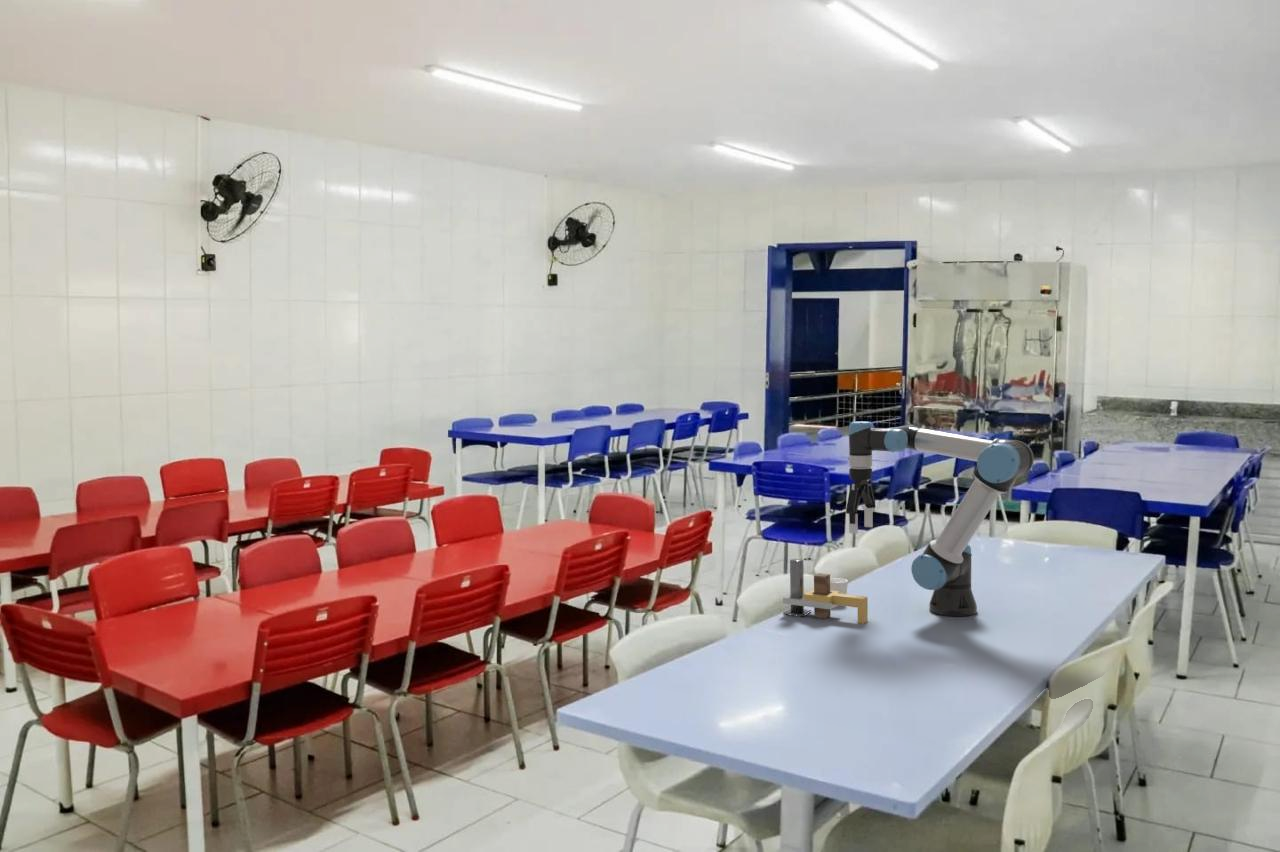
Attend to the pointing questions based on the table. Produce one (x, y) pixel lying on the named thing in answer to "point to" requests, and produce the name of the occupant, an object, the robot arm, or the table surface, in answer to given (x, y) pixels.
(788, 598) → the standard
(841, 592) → the cup
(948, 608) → the robot arm
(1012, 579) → the table surface
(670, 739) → the table surface
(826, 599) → the bracket
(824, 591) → the pin
